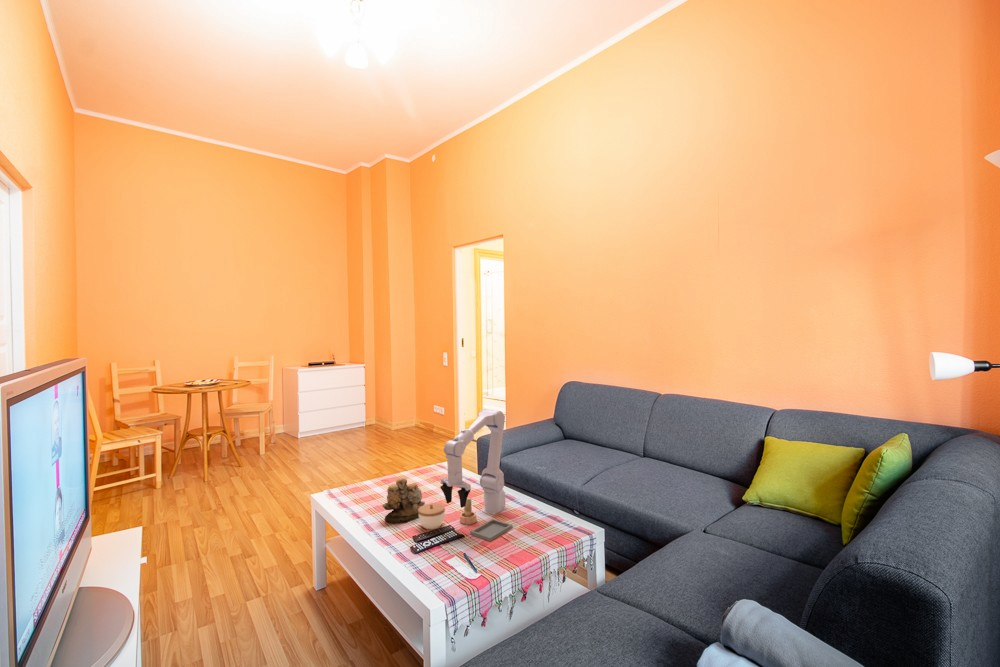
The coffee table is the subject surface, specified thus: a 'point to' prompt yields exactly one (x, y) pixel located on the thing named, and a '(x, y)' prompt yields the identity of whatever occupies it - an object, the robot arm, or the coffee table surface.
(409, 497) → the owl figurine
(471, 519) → the cup
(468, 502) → the dowel
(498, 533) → the tray
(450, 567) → the coffee table surface
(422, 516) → the lidded jar
